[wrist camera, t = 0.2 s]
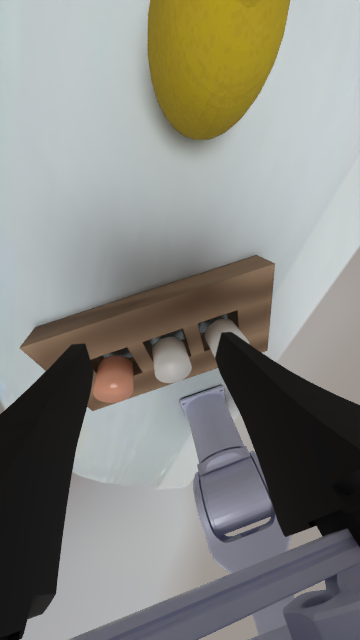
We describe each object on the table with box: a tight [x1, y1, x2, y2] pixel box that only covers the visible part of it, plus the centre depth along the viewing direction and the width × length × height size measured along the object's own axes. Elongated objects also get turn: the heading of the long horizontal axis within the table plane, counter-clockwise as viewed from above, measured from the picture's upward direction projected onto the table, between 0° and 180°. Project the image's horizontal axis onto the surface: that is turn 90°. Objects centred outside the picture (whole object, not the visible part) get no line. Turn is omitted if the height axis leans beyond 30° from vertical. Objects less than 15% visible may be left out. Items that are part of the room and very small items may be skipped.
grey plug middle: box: [152, 337, 192, 383], centre depth 18 cm, size 4×4×3 cm
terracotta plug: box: [93, 355, 133, 403], centre depth 18 cm, size 4×4×3 cm
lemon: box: [148, 0, 290, 140], centre depth 8 cm, size 6×6×8 cm
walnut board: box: [20, 255, 275, 411], centre depth 21 cm, size 12×24×3 cm, turn 104°
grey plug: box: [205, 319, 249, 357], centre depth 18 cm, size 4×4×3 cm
